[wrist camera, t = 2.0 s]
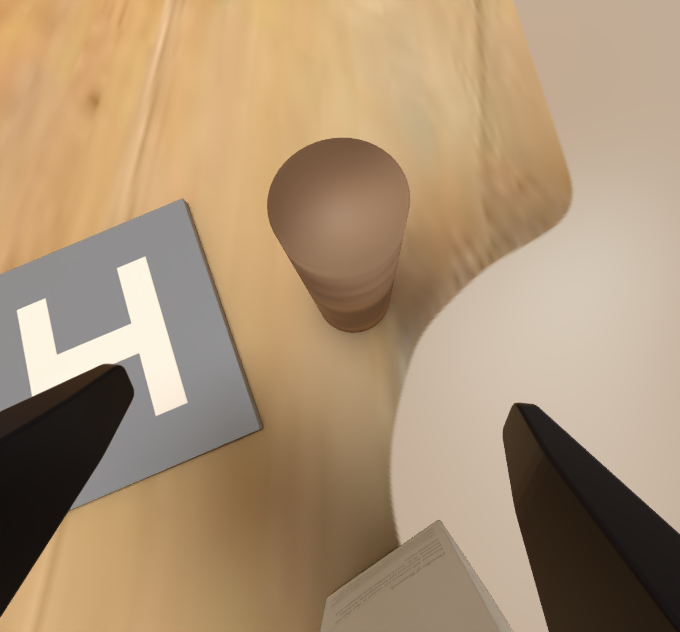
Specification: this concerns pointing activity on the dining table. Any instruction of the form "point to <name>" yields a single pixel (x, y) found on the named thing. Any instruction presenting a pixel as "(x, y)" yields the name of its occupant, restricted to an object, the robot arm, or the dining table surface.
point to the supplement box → (416, 592)
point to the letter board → (131, 342)
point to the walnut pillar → (342, 226)
